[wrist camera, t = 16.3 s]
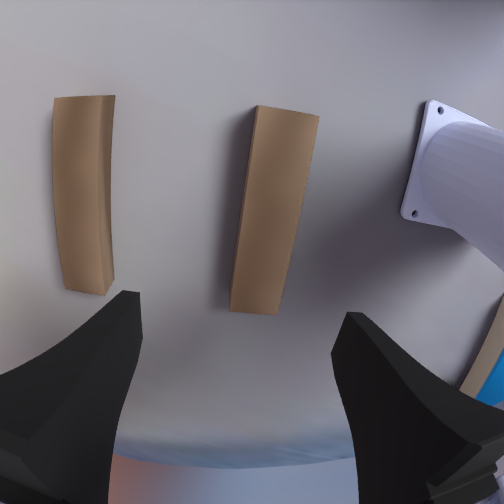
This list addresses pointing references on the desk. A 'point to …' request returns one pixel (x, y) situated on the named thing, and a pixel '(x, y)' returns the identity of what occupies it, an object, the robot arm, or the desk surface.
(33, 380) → the robot arm
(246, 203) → the pair of brown bars
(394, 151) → the desk surface
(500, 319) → the book
